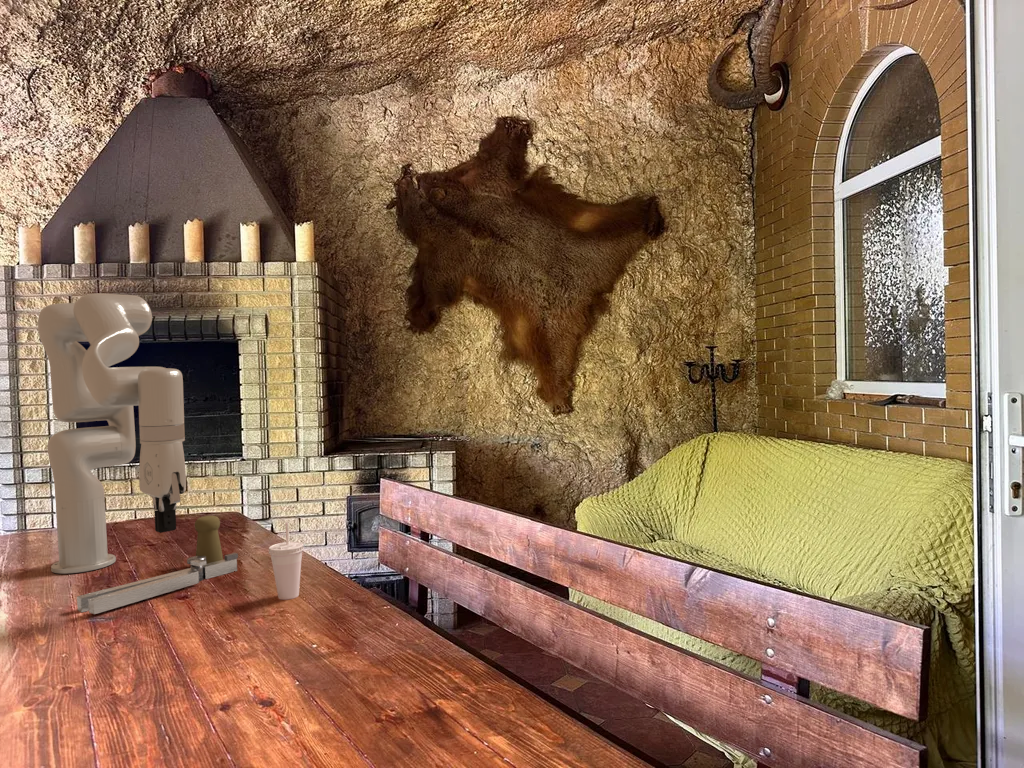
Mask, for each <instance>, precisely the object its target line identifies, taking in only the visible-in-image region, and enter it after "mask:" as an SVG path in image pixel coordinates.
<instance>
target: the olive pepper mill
mask: <svg viewBox="0 0 1024 768" xmlns="http://www.w3.org/2000/svg"><path fill="white" fill-rule="evenodd" d="M220 526H221V520H220V518H219V517H218V516H216V515H204V516H201V517H198V518H197V519H196V520H195V522H194V529H195V531H196V532H197V537H196V538H197V539H196V549H195V556H206V564H208V563H212V562H216V561H220V560H224V556H223V550H222V545H221V541H220V535H219V529H220Z"/></svg>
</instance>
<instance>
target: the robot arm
mask: <svg viewBox="0 0 1024 768" xmlns="http://www.w3.org/2000/svg"><path fill="white" fill-rule="evenodd" d="M152 315H153V313H152V310H151V308H150V305H149V303H148V302H147V301H146V300H145V299H144V298H142V297H141V296H139V295H135V294H119V293H116V294H115V293H102V292H101V293H100V292H99V293H96V292H95V293H89V294H85V295H83V296H81V297H79V298H78V299H77V300H76V302H74V303H73V302H63V303H53V304H49V305H46V306H45V307H43V308H42V309H40V312H39V314H38V318H37V329H38V331H37V332H38V335H39V339H40V342H41V344H42V346H43V349H44V351H45V353H46V356H47V360H48V361H49V362H48V363H49V369H50V370H49V371H50V372H49V373H50V386H51V399H52V400H51V401H52V408H53V413H54V416H55V417H56V419H57V420H58V421H60V422H63V423H89V422H96V421H97V422H100V421H107V423H108V425H105V426H91V427H90V426H89V427H87V426H86V427H78V428H69V429H64V430H61V431H58V432H56V433H54V434H53V435H52V436H51V437H50V438H49V439H48V442H47V445H46V447H47V448H46V449H47V450H46V451H47V455H48V459H49V463H50V467H51V471H52V472H51V473H52V477H53V485H54V497H55V513H56V514H55V515H56V528H57V529H56V531H57V547H58V548H57V550H58V561H56V562H54V563H53V564H51V566H50V570H51V572H52V573H55V574H63V575H64V574H65V575H67V574H78V573H85V572H86V573H87V572H91V571H94V570H100V569H103V568H105V567H108V566H110V565H113V564H114V563H115V562H116V561H117V557H116V555H114V554H112V553H109V552H108V551H109V550H108V537H107V536H108V535H107V517H106V500H105V499H106V497H105V488H104V485H103V483H102V482H101V480H100V479H98V478H97V477H96V475H94V474H93V472H92V471H91V470H93V469H99V468H100V469H101V468H106V467H107V468H108V467H115V466H121V465H126V464H129V463H130V462H131V461H132V460H133V459H134V457H135V455H136V445H137V444H136V431H135V430H136V427H135V412H134V409H135V408H134V406H135V407H137V406H138V426H139V444H140V451H139V452H140V453H139V470H138V471H139V473H138V475H139V480H138V483H139V486H138V487H139V490H140V492H141V493H142V494H146V495H149V496H150V497H151V498H152V505H153V510H154V530H155V532H157V533H159V534H162V533H166V532H171V531H175V530H176V529H177V515H176V511H177V510H176V509H177V503H178V504H179V503H181V495H183V494H184V493H185V492H186V489H187V475H186V474H187V473H186V462H185V460H186V459H185V453H184V451H185V450H184V446H183V445H184V444H183V442H185V441H186V439H185V438H186V435H185V409H184V408H185V406H184V403H185V402H184V401H185V400H184V380H183V378H184V377H183V373H182V371H181V370H179V369H177V368H173V367H172V368H169V367H168V368H166V367H165V366H164V367H163V366H119V367H118V366H116V367H114V365H116V364H119V363H122V362H123V361H126V360H128V359H129V358H131V356H133V355H134V354H135V353H136V352H137V350H138V348H139V346H140V338H139V337H140V336H142V335H143V334H145V333H146V332H148V330H149V329H150V327H151V325H152V322H153V321H152V320H153V316H152ZM79 342H88V343H89V347H88V348H87V349H86V348H85V347H84V346H83V345H82V344H81V343H79ZM111 366H113V367H111Z"/></svg>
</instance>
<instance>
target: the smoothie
mask: <svg viewBox="0 0 1024 768" xmlns="http://www.w3.org/2000/svg"><path fill="white" fill-rule="evenodd" d="M284 525H285V541H284V542H279V543H276V544H273V545H272V544H271V545H270V546H269V547H268V554H269V555H270V559H271V563H272V565H271V566H272V570H273V574H274V575H273V576H274V581H275V586H276V592H277V598H278V599H279V600H283V601H285V600H287V601H288V600H293V599H296V598H298V597H299V595H300V585H301V584H300V583H301V571H302V570H301V569H302V557H303V551H304V549H305V547H304V543H303V542H301V541H290V532H289V531H290V527H289V522H288V521H286V522H285V524H284Z"/></svg>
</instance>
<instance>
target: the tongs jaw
mask: <svg viewBox="0 0 1024 768" xmlns="http://www.w3.org/2000/svg"><path fill="white" fill-rule="evenodd" d="M186 563H187V565H190V566H191V565H194V566H203V565H206V556H196V555H195V556H191V557H188V558H186ZM196 584H200V581H199V574H198V571H195V570H191V571H187V572H184V573H180V574H177V575H173V576H169V577H166V578H162V579H159V580H155V581H152V582H148V583H145V584H141V585H137V586H134V587H130V588H127V589H123V590H120V591H116V592H113V593H109V594H106V595H102V596H98V597H95V598H91V599H88V602H89V611H88V613H90V614H92V615H96V614H101V613H104V612H107V611H110V610H114V609H117V608H120V607H124V606H127V605H130V604H134V603H137V602H140V601H143V600H148V599H150V598H153V597H156V596H160V595H163V594H166V593H170V592H174V591H177V590H180V589H183V588H186V587H190V586H193V585H196Z"/></svg>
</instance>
